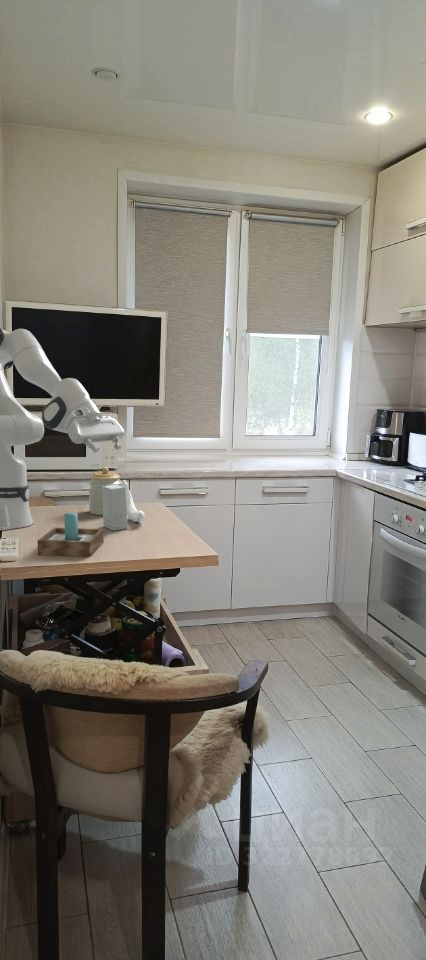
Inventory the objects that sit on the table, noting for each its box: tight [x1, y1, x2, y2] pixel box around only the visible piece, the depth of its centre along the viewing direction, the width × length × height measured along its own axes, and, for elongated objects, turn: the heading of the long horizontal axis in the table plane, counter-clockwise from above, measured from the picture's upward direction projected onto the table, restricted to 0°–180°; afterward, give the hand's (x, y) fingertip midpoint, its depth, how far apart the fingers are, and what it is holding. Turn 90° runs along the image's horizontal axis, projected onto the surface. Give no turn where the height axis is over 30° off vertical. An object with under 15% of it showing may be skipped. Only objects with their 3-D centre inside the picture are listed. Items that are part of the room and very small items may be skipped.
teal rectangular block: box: [63, 512, 79, 541], centre depth 199 cm, size 4×4×11 cm
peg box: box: [37, 527, 105, 558], centre depth 199 cm, size 16×16×4 cm
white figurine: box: [122, 479, 146, 523], centre depth 235 cm, size 5×19×15 cm, turn 29°
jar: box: [88, 466, 123, 516], centre depth 250 cm, size 13×13×18 cm
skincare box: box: [102, 485, 128, 531], centre depth 226 cm, size 8×6×15 cm
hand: (108, 449), depth 208 cm, fingers open, 8 cm apart
